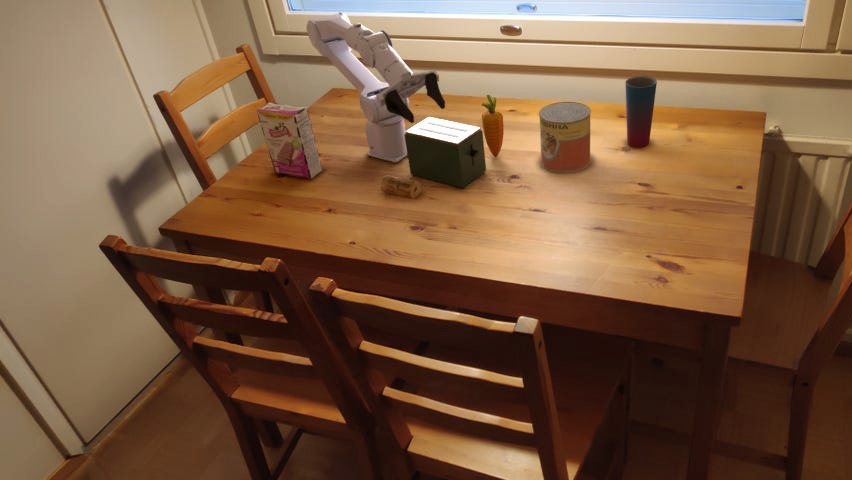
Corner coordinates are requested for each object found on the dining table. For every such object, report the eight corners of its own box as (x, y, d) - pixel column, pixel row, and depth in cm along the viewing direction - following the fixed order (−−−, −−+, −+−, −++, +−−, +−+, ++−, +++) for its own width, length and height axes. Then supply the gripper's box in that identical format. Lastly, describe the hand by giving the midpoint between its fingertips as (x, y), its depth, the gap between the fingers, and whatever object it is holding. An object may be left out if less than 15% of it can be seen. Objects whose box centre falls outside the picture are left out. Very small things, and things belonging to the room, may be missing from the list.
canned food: (530, 161, 158) (528, 112, 151) (566, 145, 164) (565, 97, 157) (564, 177, 151) (563, 127, 144) (600, 160, 156) (601, 110, 149)
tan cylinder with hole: (422, 192, 151) (419, 176, 149) (412, 201, 148) (409, 185, 146) (391, 187, 155) (388, 171, 152) (380, 196, 152) (377, 179, 149)
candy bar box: (273, 174, 165) (254, 110, 156) (286, 165, 169) (268, 101, 159) (311, 180, 161) (294, 114, 151) (323, 170, 164) (307, 105, 155)
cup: (620, 148, 160) (622, 86, 151) (626, 136, 165) (629, 75, 156) (650, 151, 157) (653, 88, 149) (655, 138, 162) (659, 76, 154)
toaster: (410, 176, 158) (403, 131, 152) (434, 160, 164) (428, 116, 157) (467, 191, 150) (462, 144, 143) (490, 173, 156) (486, 127, 149)
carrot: (504, 161, 160) (499, 100, 151) (483, 161, 161) (477, 100, 152) (507, 152, 164) (503, 91, 155) (487, 152, 165) (481, 92, 156)
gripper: (364, 71, 144) (397, 112, 139) (423, 46, 149) (457, 85, 144) (367, 95, 150) (399, 135, 145) (424, 70, 155) (456, 109, 150)
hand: (428, 112), depth 145 cm, fingers open, 7 cm apart
